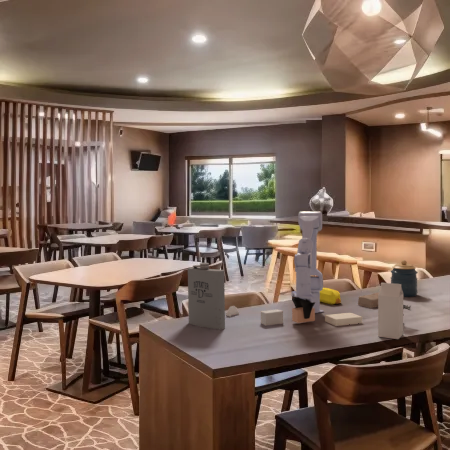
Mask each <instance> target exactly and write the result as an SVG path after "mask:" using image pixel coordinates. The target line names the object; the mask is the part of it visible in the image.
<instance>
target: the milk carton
mask: <svg viewBox="0 0 450 450" xmlns="http://www.w3.org/2000/svg"><path fill="white" fill-rule="evenodd" d="M378 292H379V294H378V307H377V315H378V316H377V335H378V336H377V337H380V338H388V339H395V340H400V338H402V336H403V335H404V324H403V323H404V316H403V314H404V309H403V305H404V297H403V291H402V288H401V284H392V283H391V282H388V283H387V282H381V283H380V288H379V291H378Z"/></svg>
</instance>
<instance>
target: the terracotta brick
mask: <svg viewBox="0 0 450 450" xmlns="http://www.w3.org/2000/svg"><path fill="white" fill-rule="evenodd" d="M291 312H292V313H291V315H292V316H291V319H292V321H291V322H294V323H296V324H300V323H307V322H314V321H316V313H315V308H312V311H311V314H310V318H308V319H304V313H303V307H300V308H296V307H294V308H293V307H292V308H291Z"/></svg>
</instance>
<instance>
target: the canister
mask: <svg viewBox="0 0 450 450" xmlns="http://www.w3.org/2000/svg"><path fill="white" fill-rule="evenodd" d="M416 268H417V267H416V266H414V264H410V263H407V260H401V263H396V264H394V265H393V266H392V270H390V273H391V277H390V283H392V284H401V288H402V291H403V296H405V297H404V298H411V297H416V296H418V277H417V274H418V271H417V270H416Z"/></svg>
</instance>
